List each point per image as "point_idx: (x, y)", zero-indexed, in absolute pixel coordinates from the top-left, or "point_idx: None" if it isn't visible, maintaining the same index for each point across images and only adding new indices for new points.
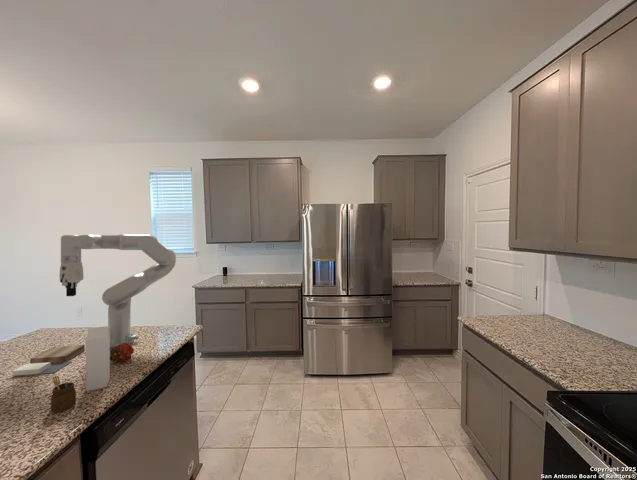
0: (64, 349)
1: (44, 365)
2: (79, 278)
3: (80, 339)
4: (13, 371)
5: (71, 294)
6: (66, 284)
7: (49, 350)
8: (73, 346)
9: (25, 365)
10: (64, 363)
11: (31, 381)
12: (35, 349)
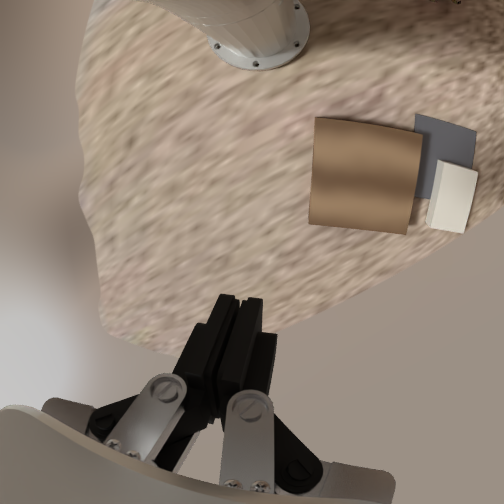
0: (352, 169)
1: (462, 168)
2: (76, 490)
3: (182, 202)
4: (463, 230)
5: (259, 329)
6: (354, 484)
7: (345, 218)
8: (326, 151)
9: (441, 222)
10: (426, 129)
11: (498, 165)
12: (256, 286)
